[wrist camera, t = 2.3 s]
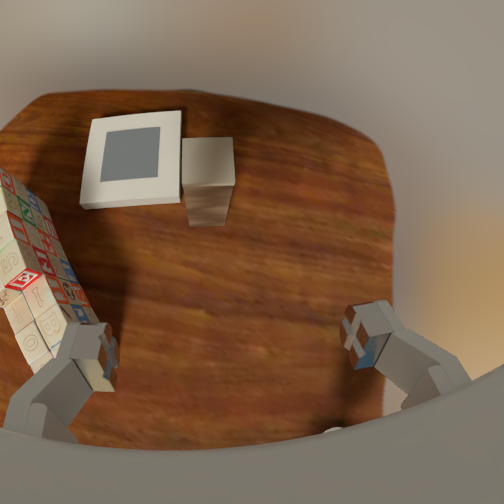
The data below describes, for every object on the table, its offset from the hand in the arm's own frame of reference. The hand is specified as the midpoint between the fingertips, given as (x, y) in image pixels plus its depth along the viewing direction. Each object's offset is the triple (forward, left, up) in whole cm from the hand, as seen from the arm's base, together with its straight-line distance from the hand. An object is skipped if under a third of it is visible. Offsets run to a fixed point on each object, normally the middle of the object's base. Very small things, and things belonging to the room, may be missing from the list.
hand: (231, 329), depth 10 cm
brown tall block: (0, +12, -23) cm, 27 cm away
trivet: (-9, +19, -23) cm, 32 cm away
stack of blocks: (-19, +4, -24) cm, 31 cm away
